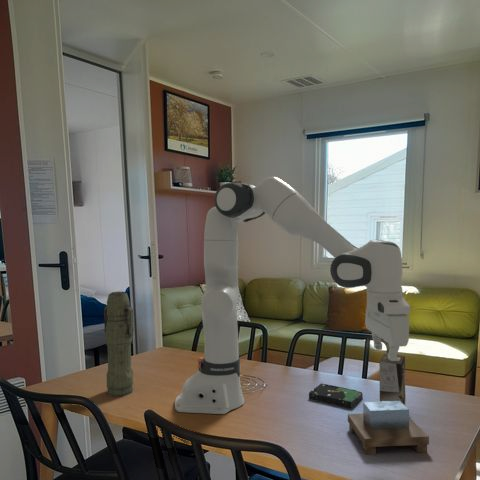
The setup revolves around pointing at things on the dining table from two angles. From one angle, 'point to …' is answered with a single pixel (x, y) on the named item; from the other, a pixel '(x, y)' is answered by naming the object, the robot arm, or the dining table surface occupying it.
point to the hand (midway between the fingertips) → (384, 354)
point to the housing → (386, 415)
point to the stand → (387, 435)
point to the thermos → (119, 344)
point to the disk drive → (336, 395)
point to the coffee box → (392, 379)
